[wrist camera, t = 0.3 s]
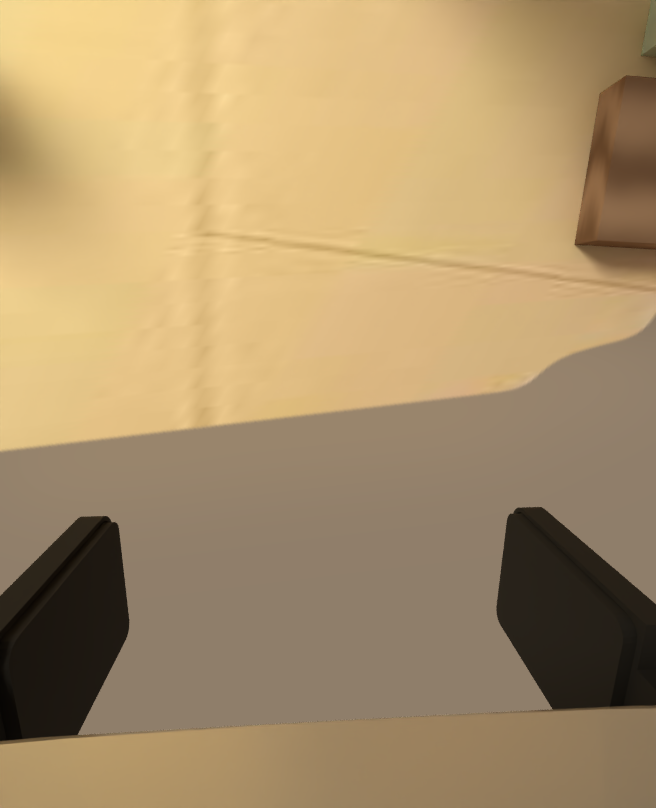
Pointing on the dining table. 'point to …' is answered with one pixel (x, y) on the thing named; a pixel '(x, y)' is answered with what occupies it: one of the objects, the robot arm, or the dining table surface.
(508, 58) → the dining table surface
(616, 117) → the walnut stand
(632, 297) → the dining table surface
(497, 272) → the dining table surface
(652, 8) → the sage cube
